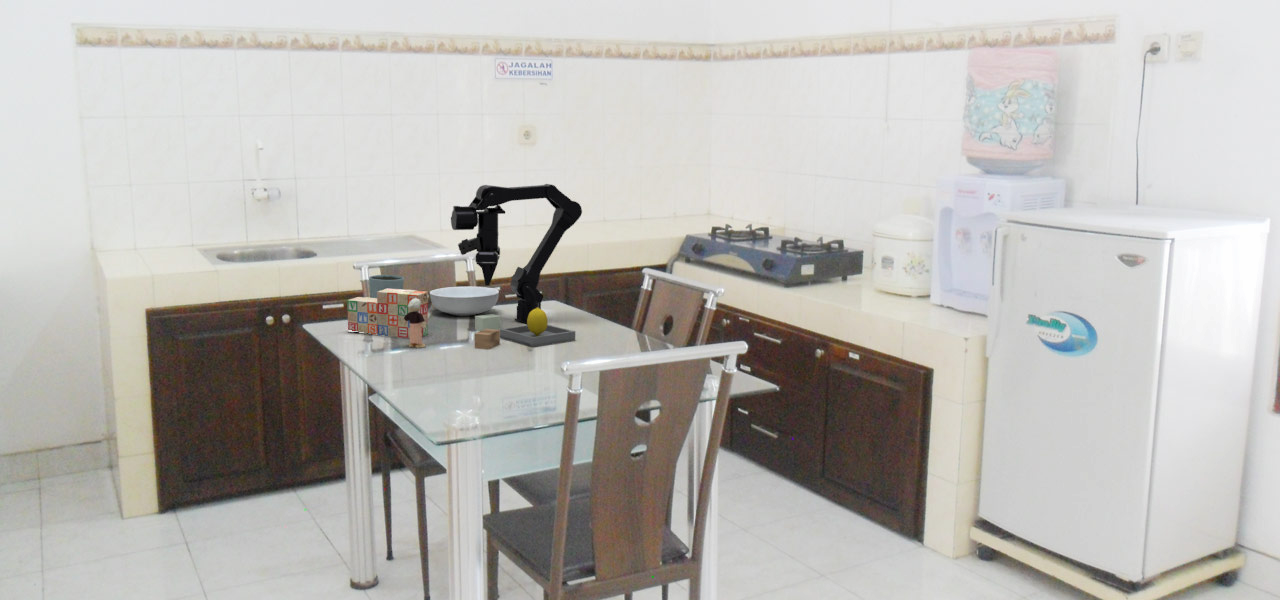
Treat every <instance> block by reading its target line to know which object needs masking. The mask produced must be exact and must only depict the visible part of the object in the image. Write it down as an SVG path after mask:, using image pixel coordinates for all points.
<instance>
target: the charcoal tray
mask: <svg viewBox="0 0 1280 600" xmlns="http://www.w3.org/2000/svg"><path fill="white" fill-rule="evenodd" d="M501 339H502V340H506V341H508V342H512V343H517V344H520V345H524V346H526V347H527V346H528V347H531V348H536V347H541V346H548V345H549V346H550V345H554V344H555V345H556V344H561V343H560V342H562V343H567V342H566V341H568V342H573V341H572V340H574V341H576V331H575V330H571V329H567V328H564V327H560V326H555V325H551V324H547V328H546V330H545V331H544V332H543V333H541V334H540V335H539V336H536V335H535V334H534V333H532V332H531V331H530V330H529V329H528V325H520V326H519V325H518V326H513V327H512V326H511V327H506V328H501V329H500V340H501Z"/></svg>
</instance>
